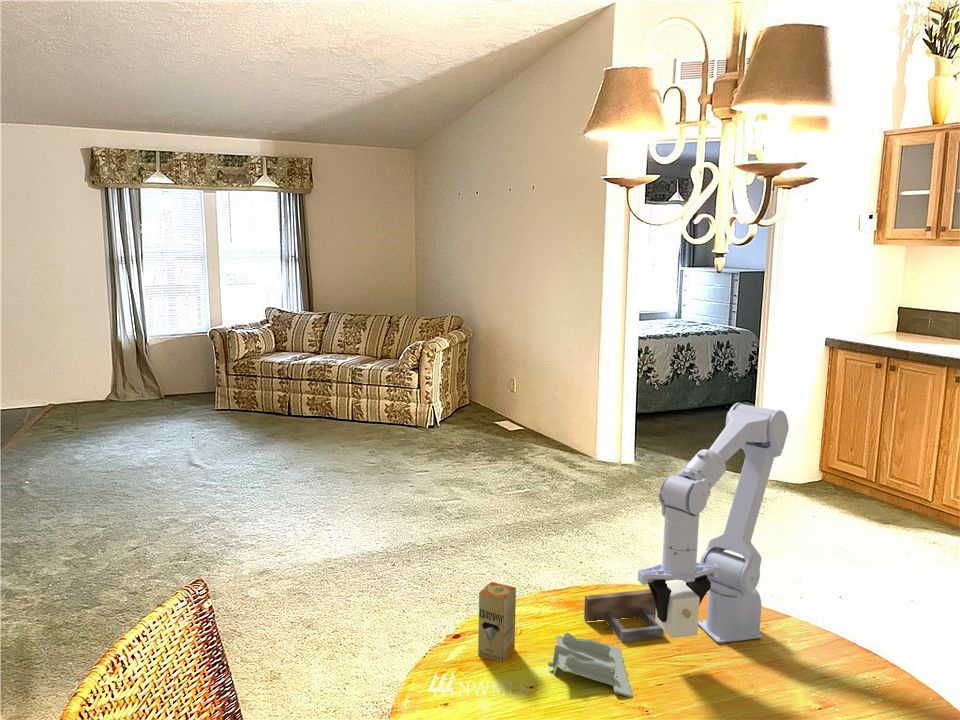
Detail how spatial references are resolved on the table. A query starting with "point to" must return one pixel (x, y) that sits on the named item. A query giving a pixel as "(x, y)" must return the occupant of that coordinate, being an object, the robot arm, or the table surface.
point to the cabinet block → (681, 612)
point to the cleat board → (625, 613)
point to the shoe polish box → (496, 621)
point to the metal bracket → (592, 662)
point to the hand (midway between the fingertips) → (676, 617)
